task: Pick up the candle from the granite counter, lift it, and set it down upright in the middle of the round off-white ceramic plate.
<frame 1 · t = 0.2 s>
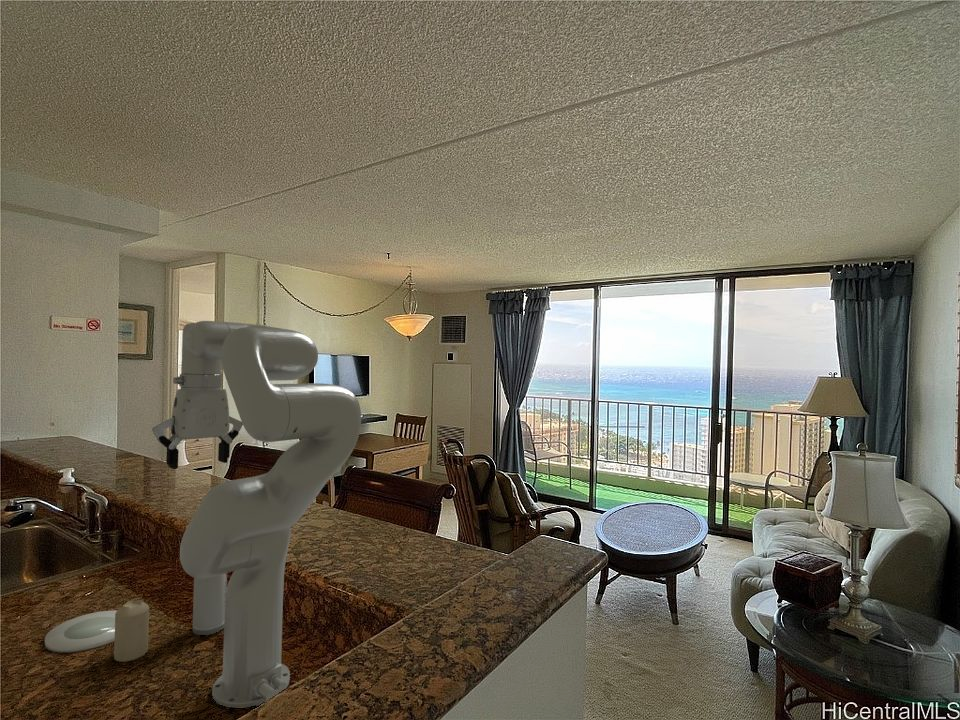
hand: (198, 464, 107), 36 cm above the table, tool pointing down, fingers open, 9 cm apart
travel mug: (208, 629, 111), on the table
candle: (131, 655, 101), on the table
ceramic plate: (91, 632, 108), on the table
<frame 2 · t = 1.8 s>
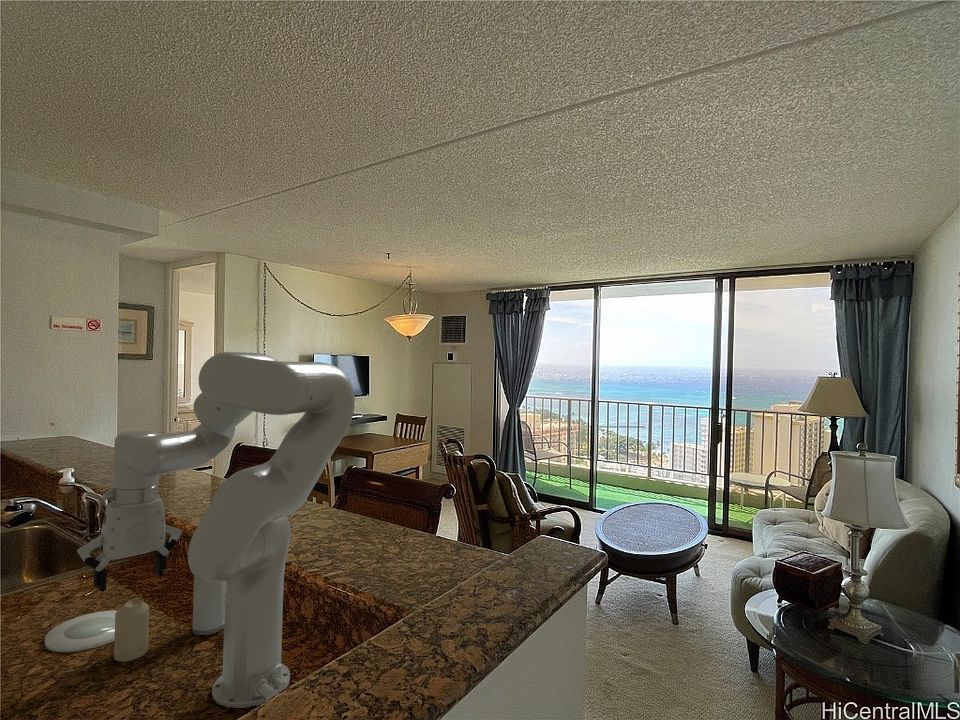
hand: (130, 581, 101), 14 cm above the table, tool pointing down, fingers open, 9 cm apart
nothing on the table moved.
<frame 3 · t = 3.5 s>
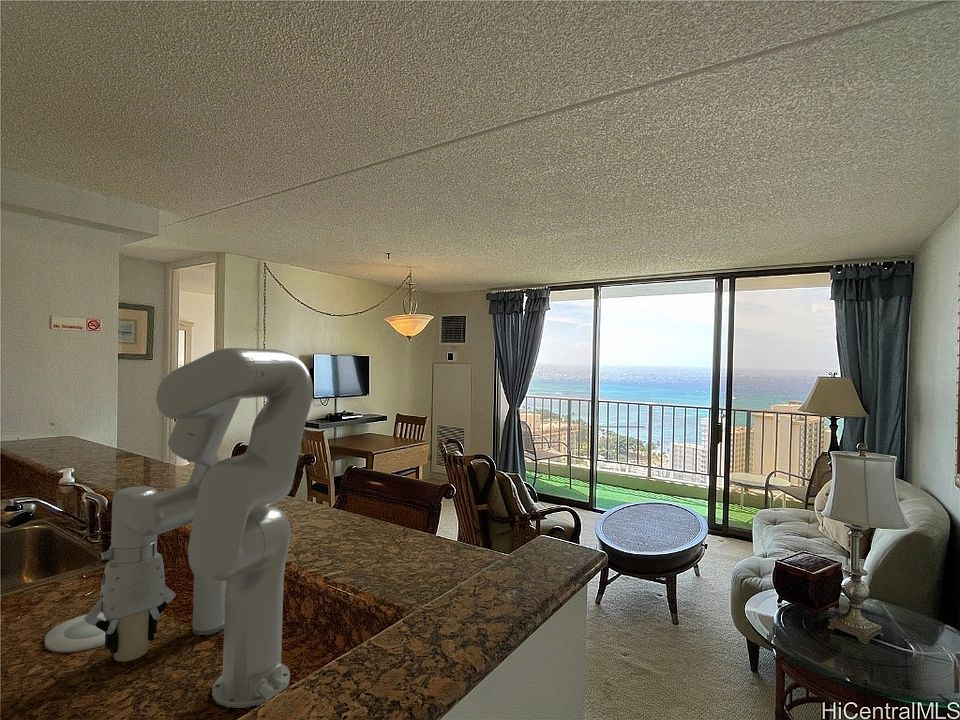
hand: (131, 643, 101), 2 cm above the table, tool pointing down, fingers closed on candle, 5 cm apart
candle: (131, 655, 101), on the table, touching gripper
everything else where it was.
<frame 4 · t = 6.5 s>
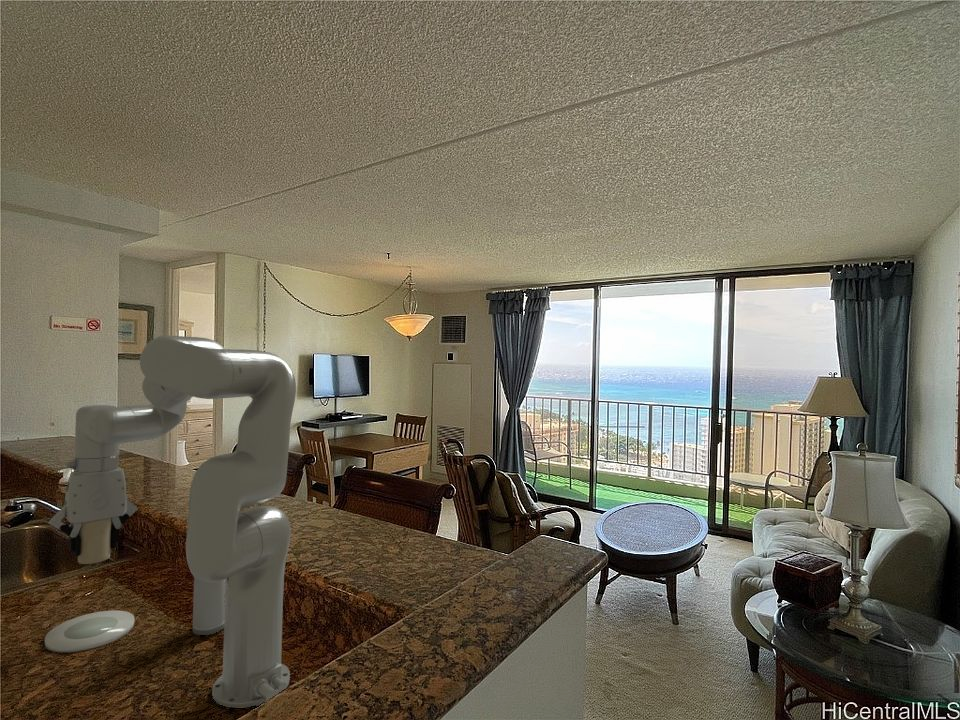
hand: (94, 549, 108), 17 cm above the table, tool pointing down, fingers closed on candle, 5 cm apart
candle: (94, 560, 108), point 15 cm above the table, touching gripper
everything else where it was.
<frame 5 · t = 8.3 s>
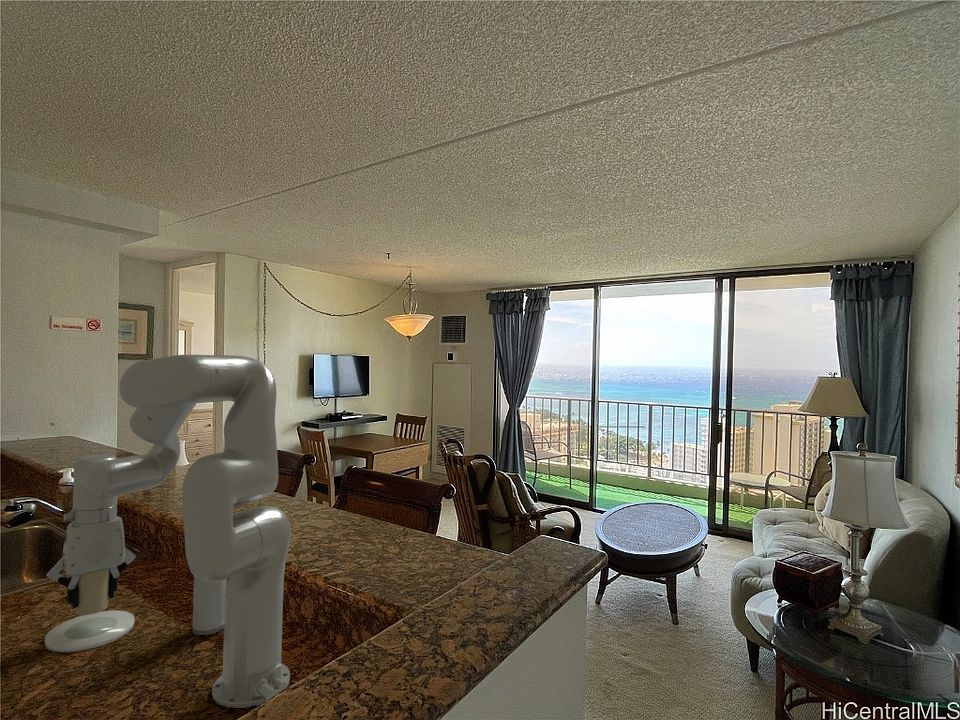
hand: (92, 599, 108), 7 cm above the table, tool pointing down, fingers closed on candle, 5 cm apart
candle: (91, 610, 108), point 5 cm above the table, touching gripper
everything else where it was.
when the fingers open (4 cm above the table, at t = 9.7 s): candle drops 1 cm, resting on ceramic plate.
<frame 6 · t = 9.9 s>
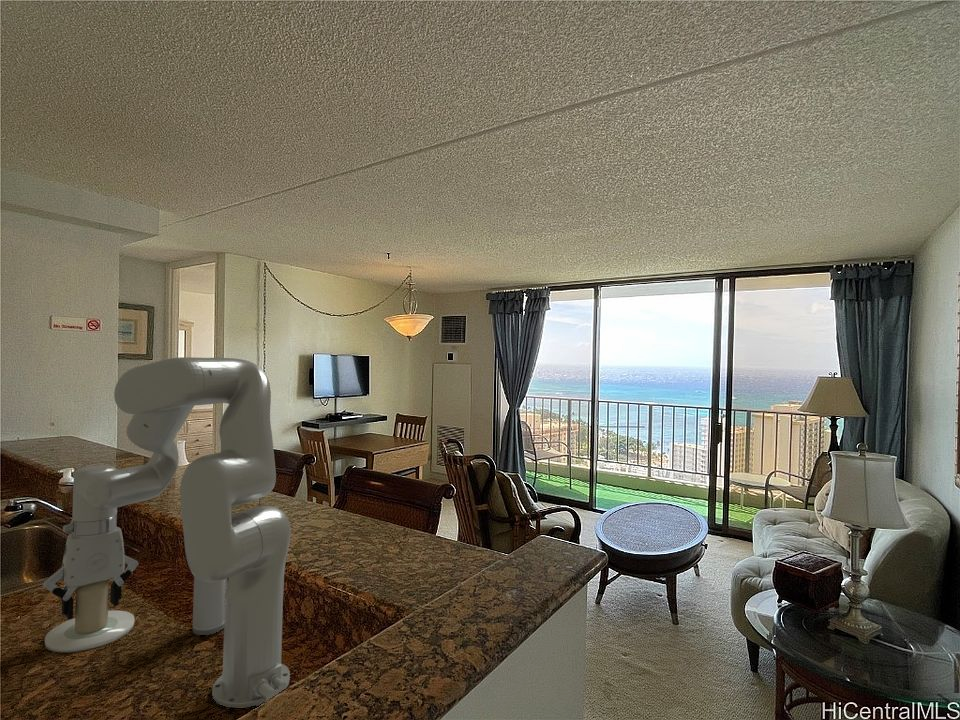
hand: (92, 609, 108), 5 cm above the table, tool pointing down, fingers open, 7 cm apart
candle: (91, 628, 108), point 1 cm above the table, touching ceramic plate
everything else where it was.
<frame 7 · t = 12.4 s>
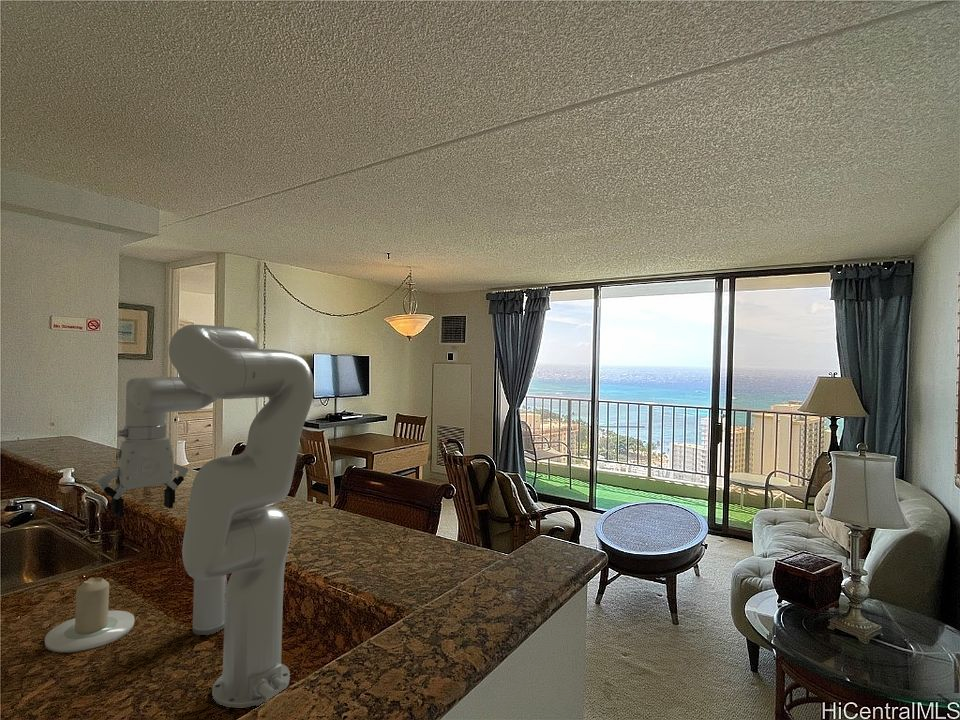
hand: (144, 511, 113), 24 cm above the table, tool pointing down, fingers open, 9 cm apart
nothing on the table moved.
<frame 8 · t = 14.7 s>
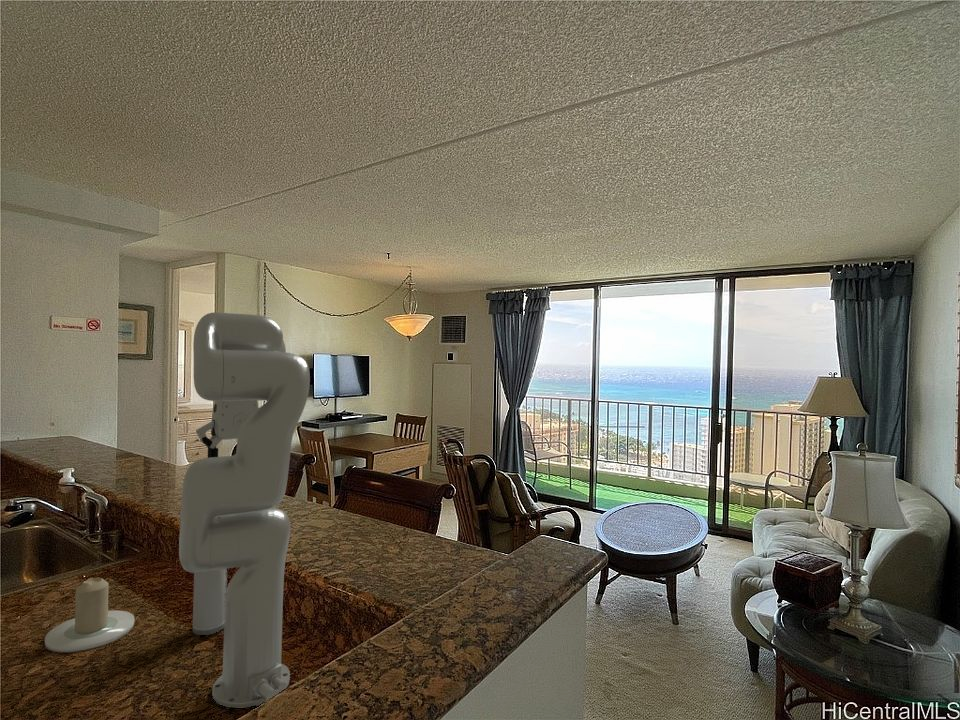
hand: (234, 461, 124), 33 cm above the table, tool pointing down, fingers open, 9 cm apart
nothing on the table moved.
at the end: candle inside the target area on the ceramic plate (0.2 cm from its centre), point 0.9 cm above the ceramic plate's base; candle tilted 0°; the gripper is holding nothing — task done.
